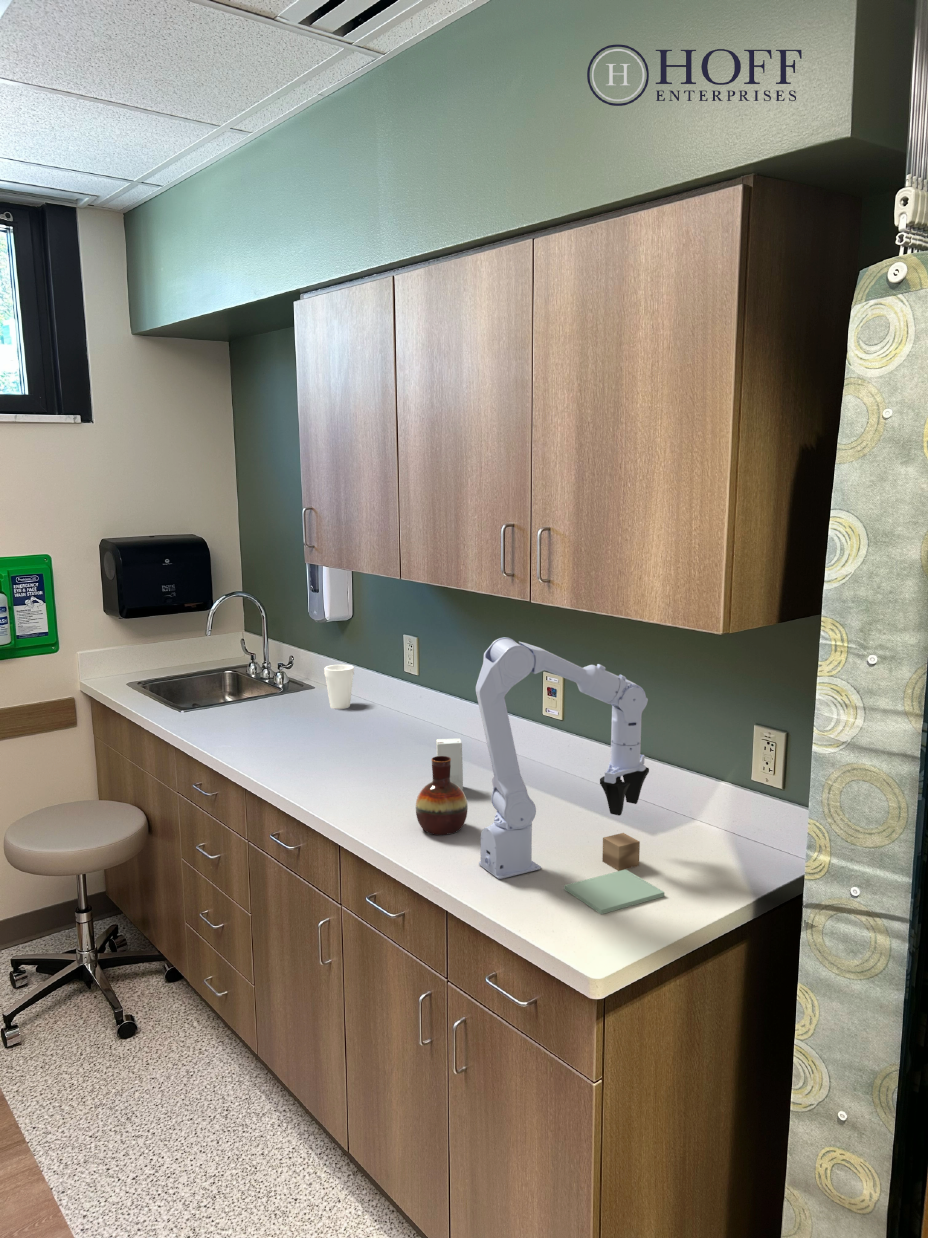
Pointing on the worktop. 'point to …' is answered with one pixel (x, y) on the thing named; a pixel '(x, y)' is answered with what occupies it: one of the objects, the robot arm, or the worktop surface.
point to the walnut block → (621, 851)
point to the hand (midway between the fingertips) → (623, 808)
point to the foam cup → (339, 685)
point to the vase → (441, 801)
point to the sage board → (613, 891)
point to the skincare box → (452, 758)
